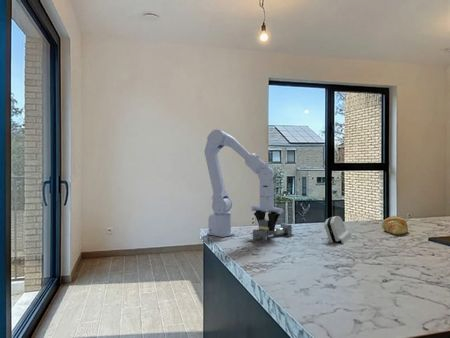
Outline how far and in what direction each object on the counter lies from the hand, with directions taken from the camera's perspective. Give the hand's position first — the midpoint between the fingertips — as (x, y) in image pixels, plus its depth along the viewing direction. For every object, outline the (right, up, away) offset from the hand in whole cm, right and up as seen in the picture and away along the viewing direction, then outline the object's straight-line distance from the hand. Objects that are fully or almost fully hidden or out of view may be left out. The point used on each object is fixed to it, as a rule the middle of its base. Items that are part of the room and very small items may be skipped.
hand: (266, 229), depth 147 cm
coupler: (0, -2, 0) cm, 2 cm away
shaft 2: (+6, -3, +3) cm, 8 cm away
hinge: (+27, -3, -5) cm, 28 cm away
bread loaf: (+56, -3, +10) cm, 57 cm away
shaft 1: (-3, -3, -6) cm, 8 cm away
